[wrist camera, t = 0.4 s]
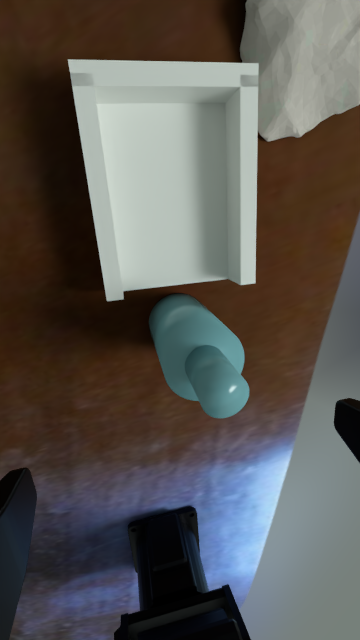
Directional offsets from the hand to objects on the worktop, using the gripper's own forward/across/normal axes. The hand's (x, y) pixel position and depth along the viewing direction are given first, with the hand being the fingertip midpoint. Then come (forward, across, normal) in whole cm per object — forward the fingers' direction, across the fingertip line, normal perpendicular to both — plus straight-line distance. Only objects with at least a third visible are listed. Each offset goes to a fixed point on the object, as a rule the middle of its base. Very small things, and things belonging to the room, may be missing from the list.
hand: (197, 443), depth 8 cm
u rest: (+13, -2, -8) cm, 16 cm away
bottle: (+14, -2, +1) cm, 14 cm away
